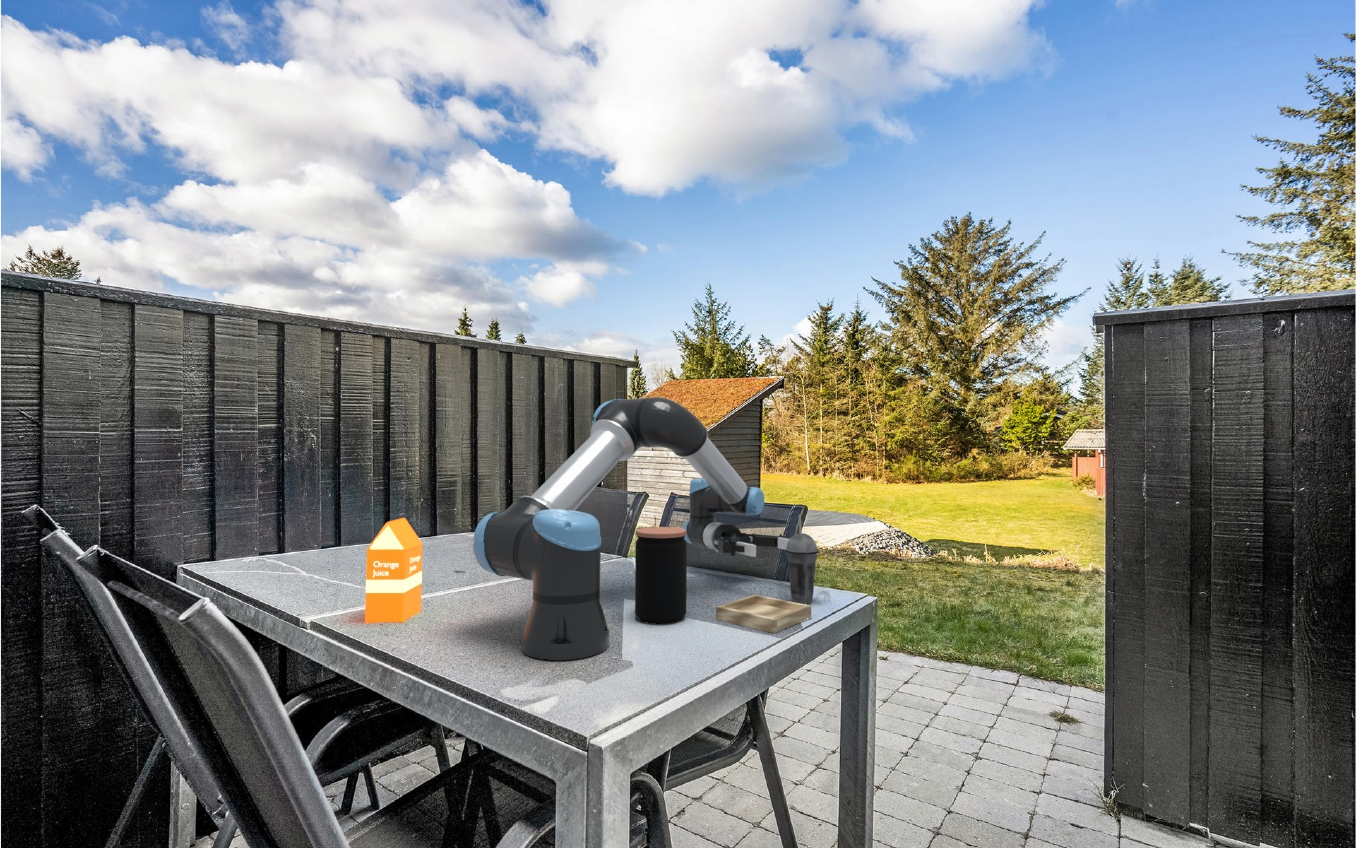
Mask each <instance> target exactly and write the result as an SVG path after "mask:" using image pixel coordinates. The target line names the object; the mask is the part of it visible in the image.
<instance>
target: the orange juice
mask: <svg viewBox="0 0 1356 848" xmlns="http://www.w3.org/2000/svg"><path fill="white" fill-rule="evenodd" d="M365 571H366V575H365V576H366V577H365V605H364V606H365V608H364V610H365V612H364V613H365V614H364V615H365V616H364V624H379V623H378V622H382V623H381V624H384V623H383V622H404V621H405V622H407V621H408V620H409V619H408V618H410V619H411V618H412V616H413V617H414V616H416V615H417V614H420V612H421V611H422V583H423V579H422V578H423V542H422V541H421V540H420V538H419V537H418V535H417V534H416V532H415V530H414V529H413V528H412V526H411V524H409V522H408V520H407V519H406V517H402V518H397V519H393V520H389V521H387V522H386V523H385V524H384V526H383V527H382V528H381V530H380V531H379V532H378V534H377V535H376V536H375V537H374V539H373V541H372V542H371V543H370V545H369V546H368V548H366V570H365ZM415 614H416V615H415ZM407 619H408V620H407ZM406 620H407V621H406ZM368 622H369V623H368ZM373 622H375V623H373ZM376 622H377V623H376ZM405 622H404V623H405Z"/></svg>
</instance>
